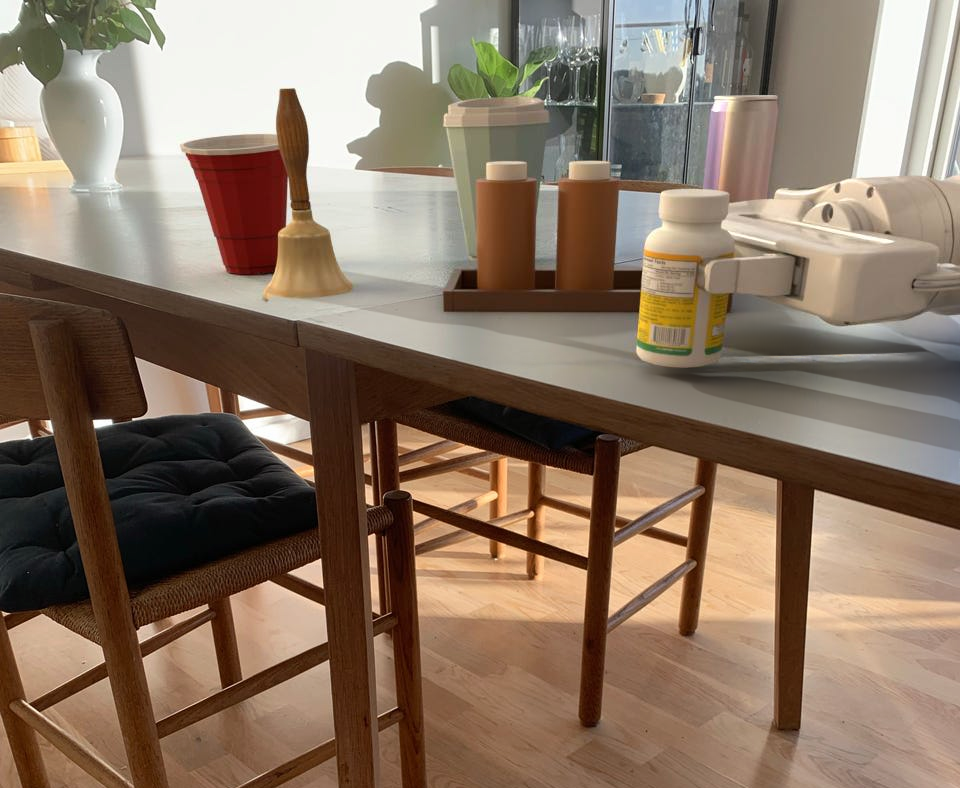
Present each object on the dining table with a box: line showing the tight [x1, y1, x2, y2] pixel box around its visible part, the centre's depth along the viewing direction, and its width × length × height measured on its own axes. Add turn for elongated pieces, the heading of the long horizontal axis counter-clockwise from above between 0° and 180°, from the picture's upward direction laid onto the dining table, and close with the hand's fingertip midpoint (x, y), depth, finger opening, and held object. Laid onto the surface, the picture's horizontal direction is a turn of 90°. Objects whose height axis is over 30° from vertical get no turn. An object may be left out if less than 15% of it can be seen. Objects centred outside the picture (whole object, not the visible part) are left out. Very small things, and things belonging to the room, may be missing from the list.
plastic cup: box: [179, 133, 289, 275], centre depth 93 cm, size 11×11×12 cm
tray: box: [442, 268, 734, 314], centre depth 79 cm, size 23×11×2 cm, turn 87°
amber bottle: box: [555, 160, 621, 290], centre depth 76 cm, size 5×5×10 cm
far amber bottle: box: [476, 161, 537, 290], centre depth 77 cm, size 5×5×10 cm
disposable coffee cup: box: [442, 96, 551, 262], centre depth 96 cm, size 11×11×15 cm
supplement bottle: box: [636, 188, 735, 369], centre depth 58 cm, size 5×5×10 cm
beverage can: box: [702, 94, 779, 203], centre depth 89 cm, size 6×6×15 cm
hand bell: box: [262, 87, 356, 301], centre depth 80 cm, size 8×8×16 cm
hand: (674, 267), depth 57 cm, fingers closed on supplement bottle, 5 cm apart
